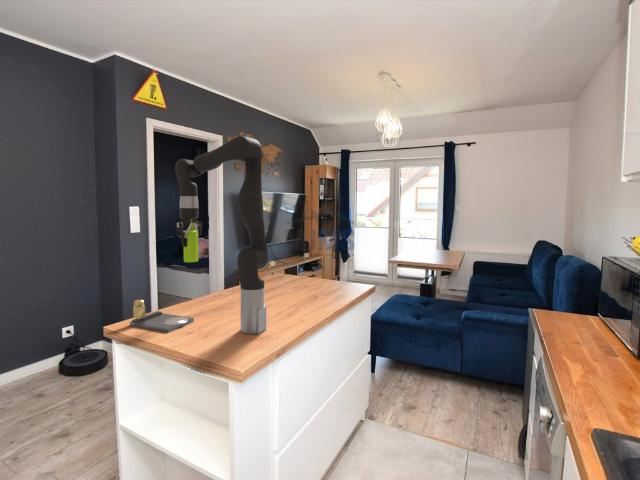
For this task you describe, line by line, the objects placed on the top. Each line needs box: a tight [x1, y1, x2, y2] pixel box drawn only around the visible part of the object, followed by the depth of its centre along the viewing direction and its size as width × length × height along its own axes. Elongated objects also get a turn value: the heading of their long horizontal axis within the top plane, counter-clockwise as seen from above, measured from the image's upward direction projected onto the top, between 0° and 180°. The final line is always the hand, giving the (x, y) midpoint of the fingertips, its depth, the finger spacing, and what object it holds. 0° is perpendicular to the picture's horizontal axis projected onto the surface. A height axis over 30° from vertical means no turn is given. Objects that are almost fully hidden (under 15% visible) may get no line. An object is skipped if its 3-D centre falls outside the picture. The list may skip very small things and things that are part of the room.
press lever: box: [132, 299, 146, 319], centre depth 140 cm, size 4×4×7 cm
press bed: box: [129, 310, 195, 333], centre depth 142 cm, size 21×14×2 cm
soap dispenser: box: [182, 219, 199, 263], centre depth 148 cm, size 6×7×20 cm
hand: (190, 245), depth 149 cm, fingers closed on soap dispenser, 6 cm apart
